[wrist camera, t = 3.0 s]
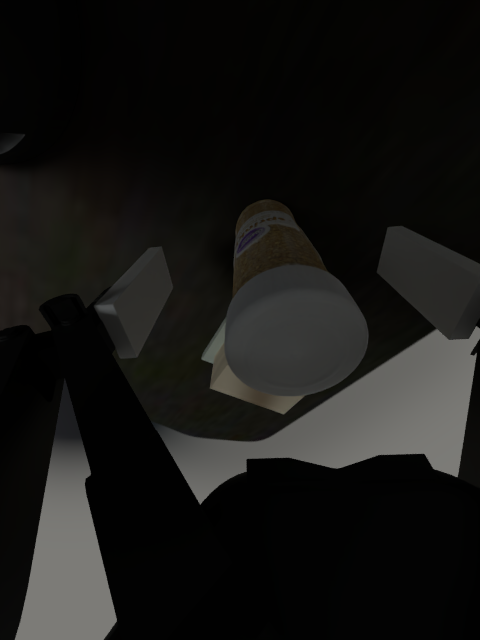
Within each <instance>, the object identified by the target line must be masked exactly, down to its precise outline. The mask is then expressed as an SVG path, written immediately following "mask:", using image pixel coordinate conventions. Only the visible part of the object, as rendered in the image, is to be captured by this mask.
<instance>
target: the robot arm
mask: <svg viewBox="0 0 480 640" xmlns="http://www.w3.org/2000/svg"><path fill="white" fill-rule="evenodd" d="M80 71H81V41H80V29H79V20H78V13H77V6H76V1H75V0H0V164H10V163H17V162H22V161H26V160H29V159H31V158H34V157H36V156H38V155H39V154H41V153H43V152H44V151H46V150H47V149H48V148H49V147H51V146H52V145H53V144H54V143H55V142H56V140H57V139H58V138H59V137H60V135H61V134H62V132H63V131H64V129H65V128H66V126H67V124H68V122H69V120H70V117H71V115H72V112H73V109H74V106H75V103H76V98H77V94H78V88H79V82H80ZM377 273H378V274H379V275H380V276H381V277H382V278H383V279H384V280H385V281H386V282H388V283H389V284H390V285H391V286H392V287H393V288H394V289H395V290H396V291H397V292H398V293H399V294H400V295H402V296H403V297H404V298H405V299H406V300H407V301H408V302H409V303H410V304H411V305H412V306H413V307H414V308H415V309H417V310H418V311H419V312H420V313H421V314H422V315H423V316H424V317H425V318H426V319H427V320H428V321H429V322H431V323H432V324H433V325H434V326H435V327H436V328H437V329H438V330H439V331H440V332H441V333H442V334H443V335H445V336H446V337H447V338H448V339H449V340H453V339H469V337H470V336H471V334H472V332H473V331H474V329H475V327H476V326H477V327H479V328H480V264H479V263H477V262H475V261H473V260H471V259H469V258H467V257H465V256H463V255H461V254H459V253H456V252H454V251H452V250H450V249H448V248H446V247H444V246H442V245H440V244H438V243H436V242H434V241H432V240H430V239H428V238H426V237H424V236H422V235H420V234H417V233H415V232H413V231H411V230H409V229H407V228H405V227H403V226H395V227H388V228H387V233H386V237H385V241H384V245H383V249H382V253H381V257H380V261H379V265H378V269H377ZM172 289H173V285H172V282H171V278H170V275H169V271H168V267H167V264H166V260H165V256H164V253H163V249H162V247H152V248H149V249H148V250H147V251H146V252H145V253H144V254H143V255H142V256H141V257H140V258H139V259H138V260H137V261H136V262H135V263H134V264H133V265H132V266H131V267H130V268H129V269H128V270H127V271H126V273H125V274H124V275H123V276H122V277H121V278H120V279H119V280H118V281H117V282H116V283H115V284H114V285H113V286H111V287H109V288H108V289H106V290H104V291H103V292H102V293H101V294H100V295H99V297H97V298H96V299H95V300H94V302H92V303H91V304H90V305H89V306H88V307H87V308H85V306H84V304H83V302H82V300H81V298H80V297H79V295H77V294H65V295H61V296H58V297H55V298H52V299H50V300H48V301H46V302H45V303H43V304H42V305H41V306H40V308H39V311H40V312H41V314H42V315H43V317H44V318H45V320H46V321H47V323H48V324H49V325H50V327H51V329H52V330H51V331H47V332H43V333H39V334H35V333H34V332H33V331H32V329H31V328H30V327H29V326H27V325H20V326H14V327H11V328H6V329H4V330H3V331H2V330H1V331H0V640H15V637H16V633H17V630H18V627H19V623H20V619H21V615H22V611H23V606H24V602H25V597H26V593H27V588H28V583H29V577H30V572H31V566H32V560H33V554H34V549H35V543H36V537H37V532H38V526H39V520H40V514H41V509H42V503H43V498H44V492H45V486H46V481H47V475H48V469H49V464H50V458H51V452H52V446H53V440H54V435H55V429H56V423H57V418H58V412H59V407H60V401H61V395H62V390H63V384H64V378H65V380H66V383H67V387H68V390H69V394H70V398H71V401H72V405H73V408H74V412H75V416H76V419H77V423H78V427H79V430H80V434H81V437H82V441H83V445H84V448H85V452H86V455H87V459H88V463H89V466H90V470H91V475H90V476H89V477H88V478H86V482H85V488H86V494H87V498H88V502H89V507H90V511H91V514H92V519H93V523H94V527H95V531H96V535H97V539H98V543H99V548H100V552H101V556H102V560H103V564H104V568H105V572H106V576H107V581H108V585H109V589H110V593H111V597H112V601H113V605H114V609H115V613H116V618H117V622H116V623H115V625H114V626H113V628H112V629H111V631H110V632H109V633H108V635H107V636H106V637H105V639H104V640H480V340H479V341H478V343H477V344H476V346H475V347H474V349H473V351H472V352H471V355H475V354H476V353H477V357H476V363H475V370H474V376H473V384H472V389H471V396H470V402H469V409H468V415H467V422H466V429H465V436H464V442H463V449H462V455H461V461H460V468H459V474H458V477H455V476H452V475H450V474H447V473H444V472H441V471H438V470H434V469H433V468H432V466H431V464H430V463H429V461H428V459H427V458H426V456H425V454H406V455H405V454H404V455H378V456H376V457H372V458H370V459H366V460H363V461H360V462H358V463H355V464H352V465H348V466H345V467H343V468H338V469H335V468H329V467H325V466H321V465H317V464H313V463H309V462H304V461H300V460H296V459H292V458H265V459H247V472H244V473H241V474H238V475H236V476H234V477H232V478H230V479H229V480H227V481H225V482H224V483H223V484H221V485H219V486H218V487H217V488H216V489H215V490H214V491H213V492H211V494H209V496H208V497H207V498H206V499H205V500H204V501H203V502H202V503H201V505H200V504H199V502H198V500H197V499H196V497H195V495H194V494H193V492H192V490H191V489H190V487H189V485H188V483H187V481H186V480H185V478H184V476H183V475H182V473H181V471H180V469H179V468H178V466H177V464H176V463H175V461H174V459H173V457H172V456H171V454H170V452H169V451H168V449H167V447H166V446H165V444H164V442H163V440H162V438H161V437H160V435H159V433H158V432H157V431H156V430H155V428H154V427H153V425H152V423H151V421H150V419H149V417H148V416H147V414H146V412H145V411H144V409H143V407H142V405H141V404H140V402H139V400H138V398H137V397H136V395H135V393H134V391H133V390H132V388H131V386H130V384H129V383H128V381H127V379H126V378H125V376H124V374H123V372H122V371H121V369H120V367H119V365H118V364H117V362H116V360H115V358H114V357H113V355H112V353H113V351H114V350H115V349H116V351H117V353H118V355H119V357H120V359H121V358H137V357H138V355H139V353H140V351H141V349H142V347H143V345H144V343H145V341H146V339H147V337H148V335H149V334H150V332H151V330H152V328H153V326H154V324H155V322H156V320H157V318H158V316H159V314H160V312H161V310H162V308H163V306H164V304H165V302H166V300H167V299H168V297H169V295H170V293H171V291H172Z"/></svg>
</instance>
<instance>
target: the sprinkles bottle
mask: <svg viewBox="0 0 480 640" xmlns="http://www.w3.org/2000/svg"><path fill="white" fill-rule="evenodd" d="M235 236H236V241H235V250H234V276H233V299H232V301H231V303H230V305H229V308H228V312H227V317H226V326H225V341H224V351H225V356H226V360H227V362H228V365H229V367H230V369H231V370H232V372H233V373H234V374H235V375H236V376H237V378H238V379H239V380H241V381H242V382H243V383H244V384H246V385H247V386H249V387H251V388H253V389H255V390H257V391H260V392H262V393H266V394H270V395H275V396H303V395H309V394H313V393H316V392H320V391H322V390H325V389H327V388H330V387H332V386H334V385H335V384H337V383H339V382H340V381H342V380H343V379H345V378H346V377H347V376H349V375H350V374H351V373H352V372H353V371H354V370H355V368H356V367H357V366H358V365H359V363H360V362H361V360H362V358H363V357H364V355H365V352H366V349H367V345H368V337H369V335H368V327H367V323H366V320H365V318H364V316H363V314H362V312H361V311H360V309H359V307H358V306H357V304H356V303H355V301H354V299H353V298H352V297H351V295H350V294H349V292H348V291H347V289H346V288H345V286H344V285H343V284H342V283H341V282H340V281H339V280H338V279H337V278H336V277H334V276H333V275H331V274H330V273H329V272H328V271H327V269H326V267H325V266H324V264H323V262H322V259H321V257H320V255H319V254H318V252H317V251H316V249H315V248H314V246H313V245H312V243H311V242H310V241H309V239H308V238H307V236H306V235H305V234H304V232H303V231H302V229H301V228H300V227H299V226H298V225H297V224H296V222H295V219H294V217H293V215H292V213H291V211H290V210H289V209H288V208H287V207H286V206H285V205H283V204H282V203H280V202H278V201H275V200H270V199H267V200H260V201H257V202H255V203H253V204H251V205H249V206H248V207H247V208H246V209H245V210H243V212H242V213H241V215H240V217H239V219H238V221H237V225H236V230H235Z"/></svg>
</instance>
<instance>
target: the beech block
mask: <svg viewBox="0 0 480 640" xmlns="http://www.w3.org/2000/svg"><path fill="white" fill-rule="evenodd" d="M210 388H211V389H214V390H216V391H219V392H222V393H225V394H228V395H231V396H234V397H236V398H239V399H242V400H245V401H248V402H251V403H253V404H256V405H259V406H262V407H265V408H268V409H270V410H273V411H276V412H279V413H282V414H285V413H286V412H287V411H288V410H289V409H290V408H292V407H293V406H294V405H295V404H296V403H297V402H298V401H299V400H301V399H302V398H303V397H304V396H305V395H303V396H275V395H270V394H266V393H262V392H260V391H257V390H255V389H253V388H251V387H249V386H247V385H246V384H244V383H243V382H242V381H241V380H239V379H238V378H237V376H236V375H235V374H234V373H233V372H232V370H231V369H230V367H229V365H228V362H227V360H226V356H225V351H224V343H223V345H222V346H221V348H220V349H219V351H218V352H217V354H216V355H215V357H214V363H213V370H212V378H211V385H210Z"/></svg>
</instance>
